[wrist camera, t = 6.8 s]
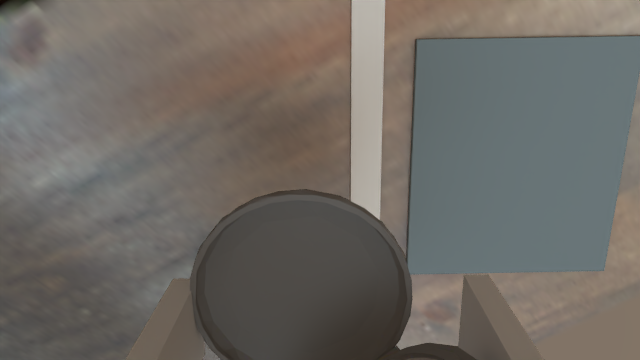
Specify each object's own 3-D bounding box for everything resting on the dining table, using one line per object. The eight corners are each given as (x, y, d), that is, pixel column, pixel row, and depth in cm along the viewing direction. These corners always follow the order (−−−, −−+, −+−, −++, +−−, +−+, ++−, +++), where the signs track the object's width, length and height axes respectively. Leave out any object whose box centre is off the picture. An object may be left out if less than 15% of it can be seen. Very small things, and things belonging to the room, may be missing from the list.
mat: (405, 271, 35) (407, 274, 35) (415, 39, 30) (417, 39, 30) (599, 267, 35) (603, 270, 35) (640, 35, 30) (645, 36, 30)
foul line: (350, 308, 36) (350, 310, 36) (351, -12, 29) (351, -13, 29) (377, 308, 36) (377, 310, 36) (384, -13, 29) (385, -13, 29)
